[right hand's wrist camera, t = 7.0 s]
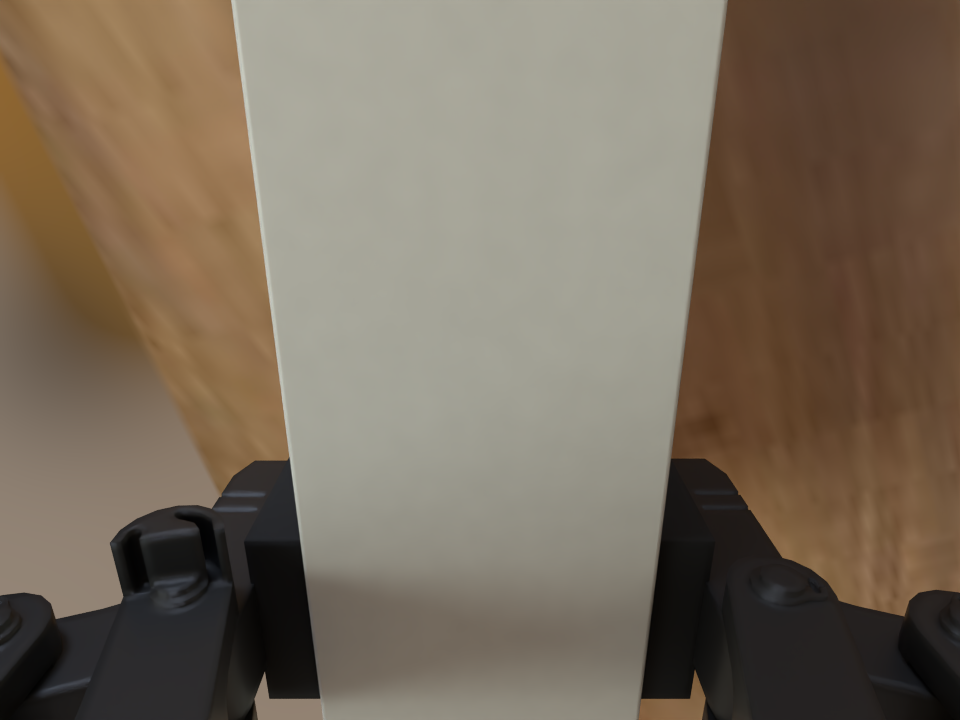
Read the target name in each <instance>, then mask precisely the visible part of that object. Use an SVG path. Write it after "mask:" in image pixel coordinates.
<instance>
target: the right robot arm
mask: <svg viewBox="0 0 960 720" xmlns="http://www.w3.org/2000/svg"><path fill="white" fill-rule="evenodd" d="M110 546H111V550H112V553H113V557H114V561H115V565H116V569H117V573H118V577H119V581H120V585H121V589H122V593H123V596H124V597H123V599H122V602H121V604H118V605H114V606H111V607H108V608H104V609H100V610H96V611H91V612H86V613H82V614H78V615H73V616H68V617H64V618H60V619H55V616H54V613H53V609H52V606H51V604H50V603H49V602H48V601H47V600H46V599H45V598H43V597H42V596H41V595H35V594H29V593H17V594H9V595H1V596H0V720H258V718H257V712H256V706H255V700H254V698H255V696H256V693H257V690H258V688H259V685H260V683H261V680H262V677H263V675H264V672H265V674H266V680H267V687H268V693H269V698H270V699H321V698H320V691H319V683H318V675H317V667H316V659H315V651H314V644H313V636H312V628H311V620H310V612H309V604H308V597H307V589H306V581H305V573H304V565H303V557H302V550H301V542H300V534H299V526H298V518H297V511H296V503H295V495H294V487H293V479H292V471H291V464H290V457H289V459H288V460H287V461H254V462H253V463H251V464H250V465H248V466H247V467H245V468H244V469H243V470H241V471H240V472H238V473H237V474H236V475H234V476H233V477H232V479H231V481H230V482H229V484H228V485H227V487H226V488H225V490H224V491H223V493H222V497H219V499H218V500H217V502H216V503H215V505H214V506H213V508H212V509H210V508H206V507H202V506H199V505H188V506H175V507H170V508H165V509H161V510H157V511H154V512H152V513H149V514H147V515H145V516H142V517H140V518H137V519H136V520H134V521H133V522H131V523H130V524H128V525H127V526H126V527H124V528H123V529H121V530H120V531H119V532H118V533H117V535H116V536H115V537H114V539H113V540H112V541H111V542H110ZM695 670H696V673H697V676H698V678H699V681H700V683H701V686H702V689H703V691H704V694H705V697H706V700H705V706H704V712H703V717H702V720H960V593H958V592H950V591H942V590H932V591H926V592H920V593H918V594H917V595H916V596H915V597H913V598H912V599H911V600H910V601H909V604H908V607H907V610H906V613H905V617H904V616H899V615H895V614H890V613H886V612H881V611H877V610H872V609H867V608H863V607H858V606H855V605H851V604H848V603H844V602H841V601H838V598H837V596H836V594H835V593H834V591H833V590H832V588H831V587H830V586H829V584H828V583H827V582H826V581H825V580H824V579H823V578H821V577H820V576H819V575H817V574H816V573H815V572H814V571H812V570H811V569H809V568H807V567H805V566H803V565H800V564H798V563H796V562H794V561H792V560H788V559H784V558H782V557H781V555H780V554H779V552H778V551H777V549H776V548H775V546H774V545H773V543H772V542H771V540H770V539H769V537H768V536H767V534H766V533H765V531H764V530H763V528H762V527H761V525H760V524H759V522H758V521H757V519H756V518H755V516H754V515H753V513H752V512H751V510H748V506H747V504H746V503H745V501H744V500H743V498H742V497H741V495H738V491H737V489H736V488H735V486H734V485H733V483H732V482H731V480H730V479H729V477H728V476H727V474H726V473H724V472H723V471H721V470H720V469H719V468H717V467H716V466H714V465H713V464H711V463H710V462H709V461H707V460H706V459H671V462H670V470H669V478H668V486H667V494H666V502H665V510H664V518H663V526H662V534H661V542H660V550H659V558H658V566H657V574H656V582H655V590H654V598H653V606H652V614H651V622H650V630H649V638H648V646H647V654H646V662H645V670H644V678H643V686H642V694H641V699H690V695H691V689H692V683H693V677H694V671H695Z"/></svg>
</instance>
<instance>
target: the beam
mask: <svg viewBox="0 0 960 720" xmlns="http://www.w3.org/2000/svg"><path fill="white" fill-rule="evenodd" d="M231 2H232V10H233V18H234V25H235V33H236V41H237V49H238V57H239V64H240V72H241V80H242V88H243V96H244V104H245V111H246V119H247V127H248V135H249V143H250V151H251V158H252V166H253V174H254V182H255V190H256V198H257V205H258V213H259V221H260V229H261V237H262V244H263V252H264V260H265V268H266V276H267V284H268V291H269V299H270V307H271V315H272V323H273V331H274V338H275V346H276V354H277V362H278V370H279V378H280V385H281V393H282V401H283V409H284V417H285V424H286V432H287V440H288V448H289V456H290V464H291V471H292V479H293V487H294V495H295V503H296V511H297V518H298V526H299V534H300V542H301V550H302V557H303V565H304V573H305V581H306V589H307V597H308V604H309V612H310V620H311V628H312V636H313V644H314V651H315V659H316V667H317V675H318V683H319V691H320V698H321V706H322V714H323V720H638V718H639V710H640V702H641V694H642V686H643V678H644V670H645V662H646V654H647V646H648V638H649V630H650V622H651V614H652V606H653V598H654V590H655V582H656V574H657V566H658V558H659V550H660V542H661V534H662V526H663V518H664V510H665V502H666V494H667V486H668V478H669V470H670V462H671V454H672V446H673V438H674V430H675V422H676V414H677V406H678V398H679V390H680V382H681V374H682V365H683V357H684V349H685V341H686V333H687V325H688V317H689V309H690V301H691V293H692V285H693V277H694V269H695V261H696V253H697V245H698V237H699V229H700V221H701V213H702V205H703V197H704V189H705V181H706V173H707V165H708V157H709V149H710V141H711V133H712V125H713V117H714V109H715V101H716V93H717V85H718V77H719V69H720V61H721V53H722V45H723V37H724V29H725V21H726V13H727V5H728V0H231Z"/></svg>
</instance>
